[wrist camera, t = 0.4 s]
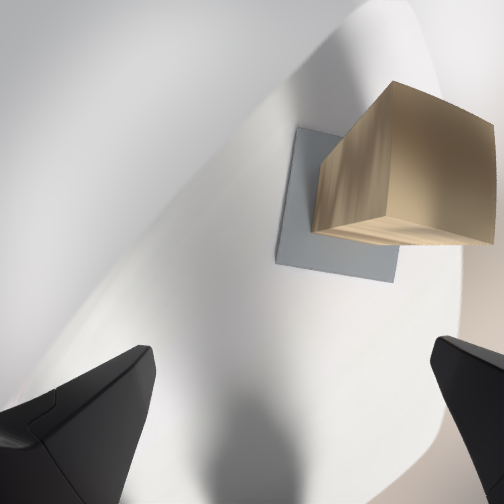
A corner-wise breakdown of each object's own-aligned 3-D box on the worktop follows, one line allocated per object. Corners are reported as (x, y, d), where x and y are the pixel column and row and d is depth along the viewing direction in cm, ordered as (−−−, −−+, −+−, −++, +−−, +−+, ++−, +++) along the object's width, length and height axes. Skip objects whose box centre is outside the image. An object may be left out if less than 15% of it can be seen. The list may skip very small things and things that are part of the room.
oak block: (375, 245, 22) (493, 244, 9) (310, 232, 22) (385, 215, 9) (383, 179, 21) (493, 125, 9) (320, 164, 21) (392, 80, 9)
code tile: (390, 282, 22) (393, 283, 22) (275, 263, 22) (276, 263, 22) (404, 157, 22) (408, 155, 21) (296, 130, 22) (298, 127, 21)
